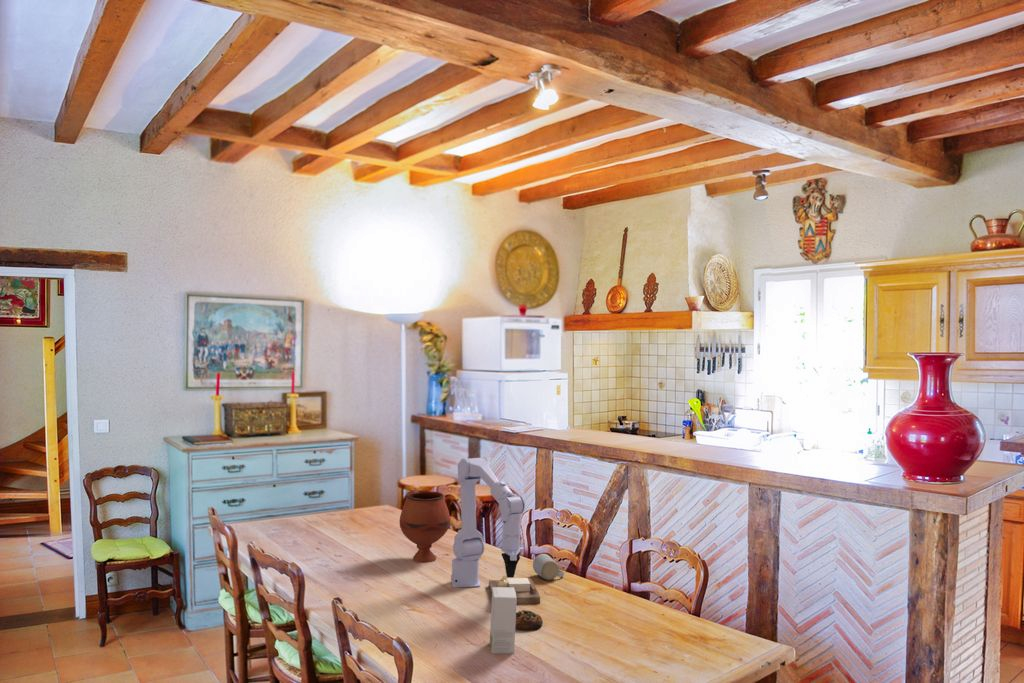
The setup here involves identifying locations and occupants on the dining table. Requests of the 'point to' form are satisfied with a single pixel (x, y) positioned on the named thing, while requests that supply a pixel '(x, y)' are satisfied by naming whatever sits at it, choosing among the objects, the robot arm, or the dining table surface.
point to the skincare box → (503, 620)
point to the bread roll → (528, 621)
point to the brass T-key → (503, 582)
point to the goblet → (424, 522)
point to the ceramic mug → (546, 567)
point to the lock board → (521, 593)
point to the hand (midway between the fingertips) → (510, 576)
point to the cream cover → (519, 584)
